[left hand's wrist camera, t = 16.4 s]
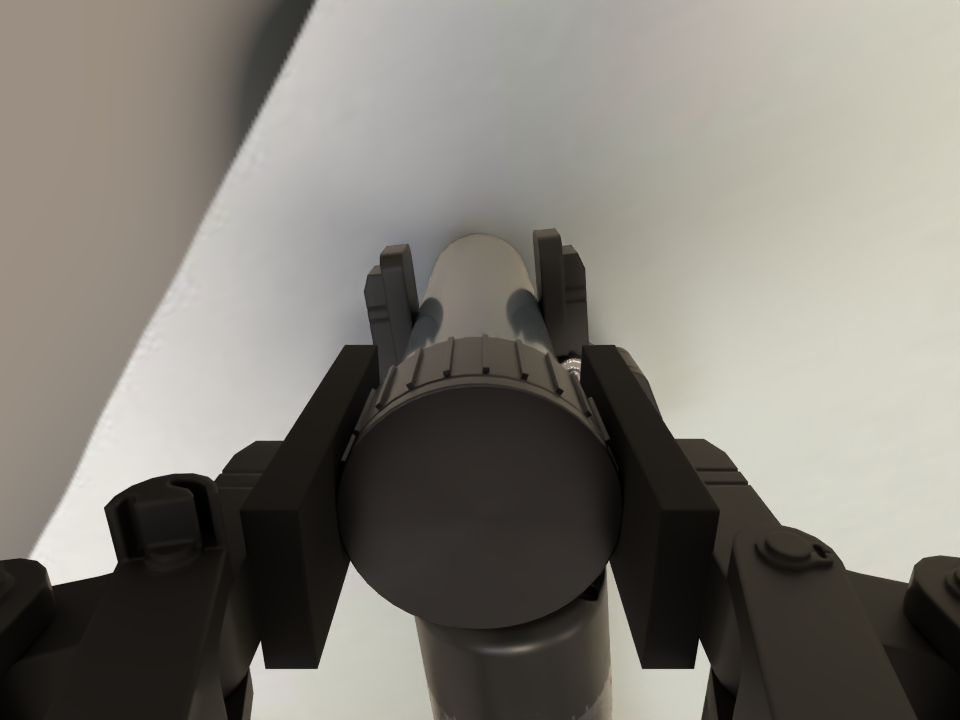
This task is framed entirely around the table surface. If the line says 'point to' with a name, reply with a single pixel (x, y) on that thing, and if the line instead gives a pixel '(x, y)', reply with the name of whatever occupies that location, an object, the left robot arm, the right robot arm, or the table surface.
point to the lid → (479, 485)
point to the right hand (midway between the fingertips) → (469, 243)
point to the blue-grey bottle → (479, 297)
